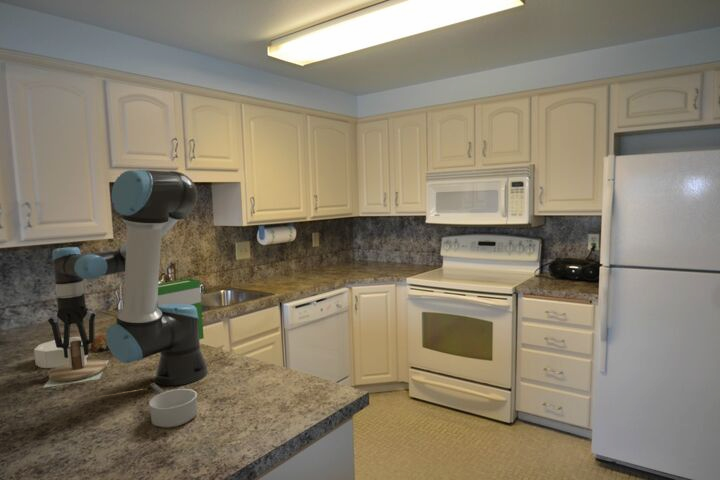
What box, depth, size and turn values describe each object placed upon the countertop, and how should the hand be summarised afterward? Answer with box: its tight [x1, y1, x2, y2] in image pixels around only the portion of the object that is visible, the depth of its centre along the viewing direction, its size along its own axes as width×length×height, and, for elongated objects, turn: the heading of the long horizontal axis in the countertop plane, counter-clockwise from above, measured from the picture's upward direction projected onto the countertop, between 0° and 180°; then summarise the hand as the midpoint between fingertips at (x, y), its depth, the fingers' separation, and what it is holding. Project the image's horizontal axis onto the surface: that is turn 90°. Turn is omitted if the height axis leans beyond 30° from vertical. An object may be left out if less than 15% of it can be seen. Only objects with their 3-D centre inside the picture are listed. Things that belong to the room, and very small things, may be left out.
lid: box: [48, 340, 108, 381], centre depth 145 cm, size 16×16×10 cm
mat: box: [42, 359, 109, 388], centre depth 145 cm, size 18×15×1 cm
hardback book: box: [157, 278, 204, 340], centre depth 175 cm, size 18×7×24 cm, turn 141°
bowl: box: [33, 336, 89, 369], centre depth 158 cm, size 15×15×6 cm
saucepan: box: [147, 382, 198, 428], centre depth 116 cm, size 12×20×6 cm, turn 45°
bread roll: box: [90, 332, 110, 353], centre depth 171 cm, size 10×10×8 cm
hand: (78, 365), depth 145 cm, fingers closed on lid, 3 cm apart
